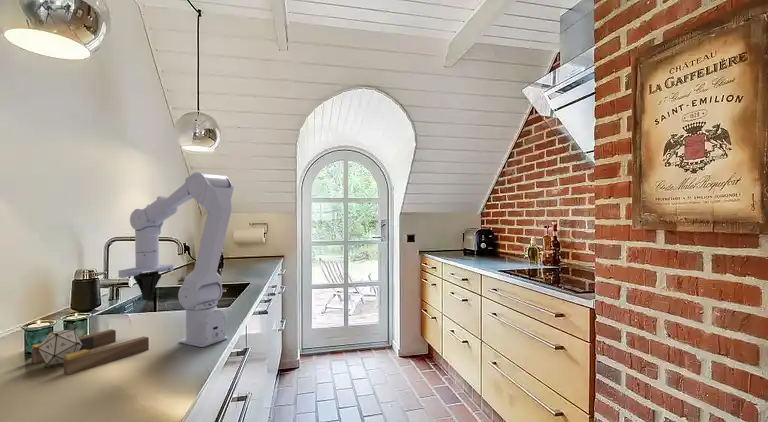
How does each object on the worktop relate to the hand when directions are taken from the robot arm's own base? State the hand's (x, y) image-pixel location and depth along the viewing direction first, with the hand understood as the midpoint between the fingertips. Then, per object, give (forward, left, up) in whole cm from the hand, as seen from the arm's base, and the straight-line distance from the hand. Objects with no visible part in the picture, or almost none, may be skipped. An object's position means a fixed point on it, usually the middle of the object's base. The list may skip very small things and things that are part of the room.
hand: (147, 299), depth 112 cm
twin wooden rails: (-6, +17, -9) cm, 20 cm away
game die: (-6, +23, -10) cm, 26 cm away
